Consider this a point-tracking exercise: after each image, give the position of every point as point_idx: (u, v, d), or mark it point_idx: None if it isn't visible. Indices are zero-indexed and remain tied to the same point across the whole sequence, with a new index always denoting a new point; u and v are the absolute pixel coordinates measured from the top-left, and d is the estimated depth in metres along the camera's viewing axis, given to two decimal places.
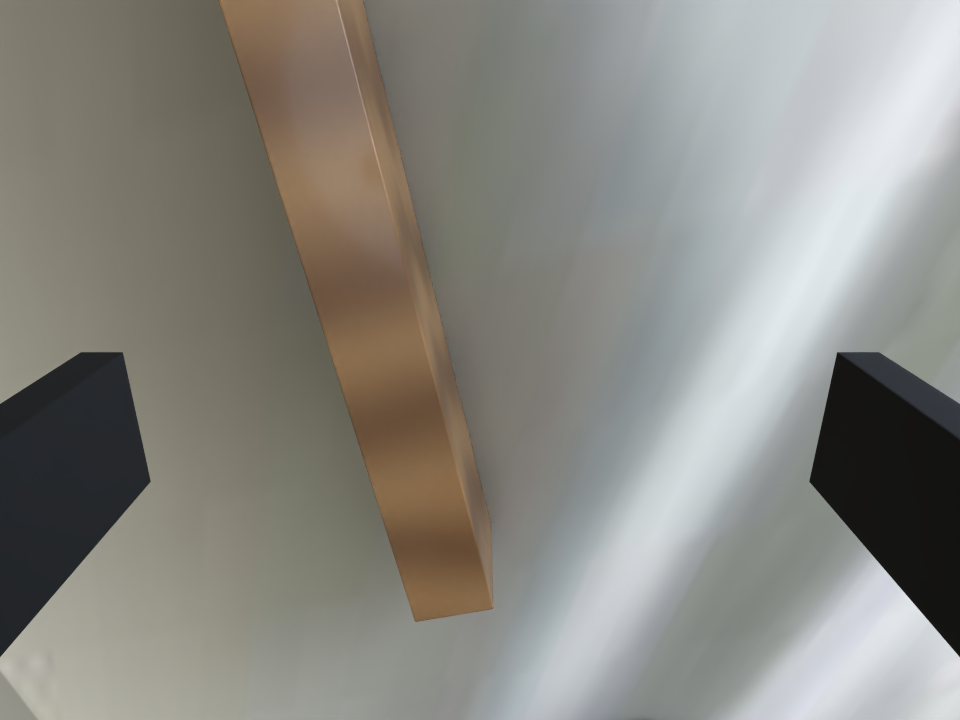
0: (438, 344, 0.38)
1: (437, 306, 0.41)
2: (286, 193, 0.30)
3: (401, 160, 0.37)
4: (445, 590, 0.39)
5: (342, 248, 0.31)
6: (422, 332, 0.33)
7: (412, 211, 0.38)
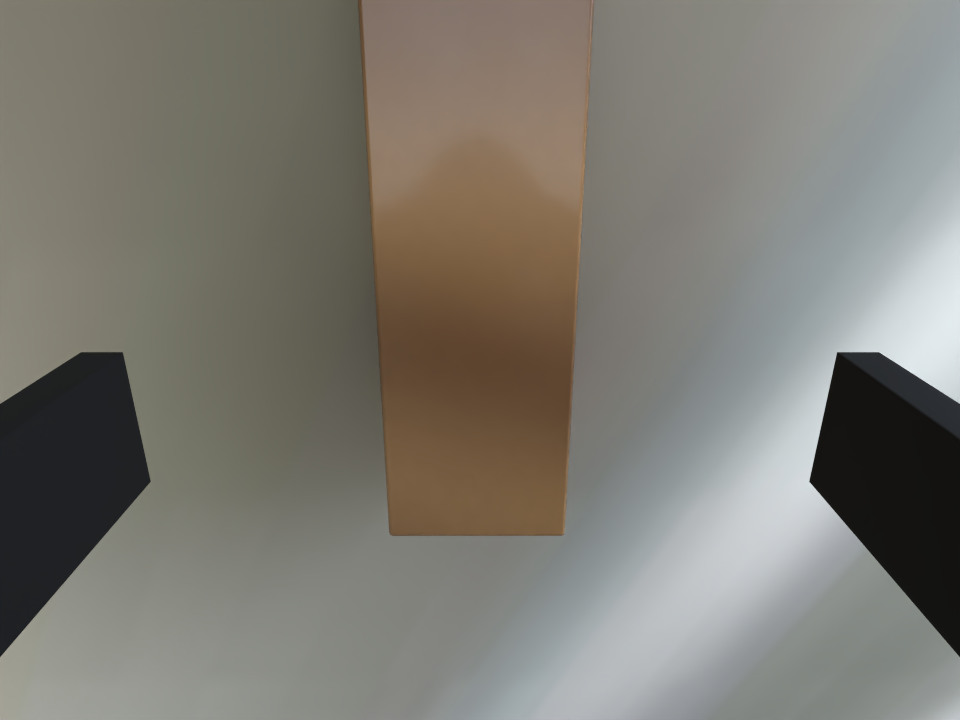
0: None
1: None
2: None
3: None
4: (473, 473, 0.17)
5: None
6: None
7: None
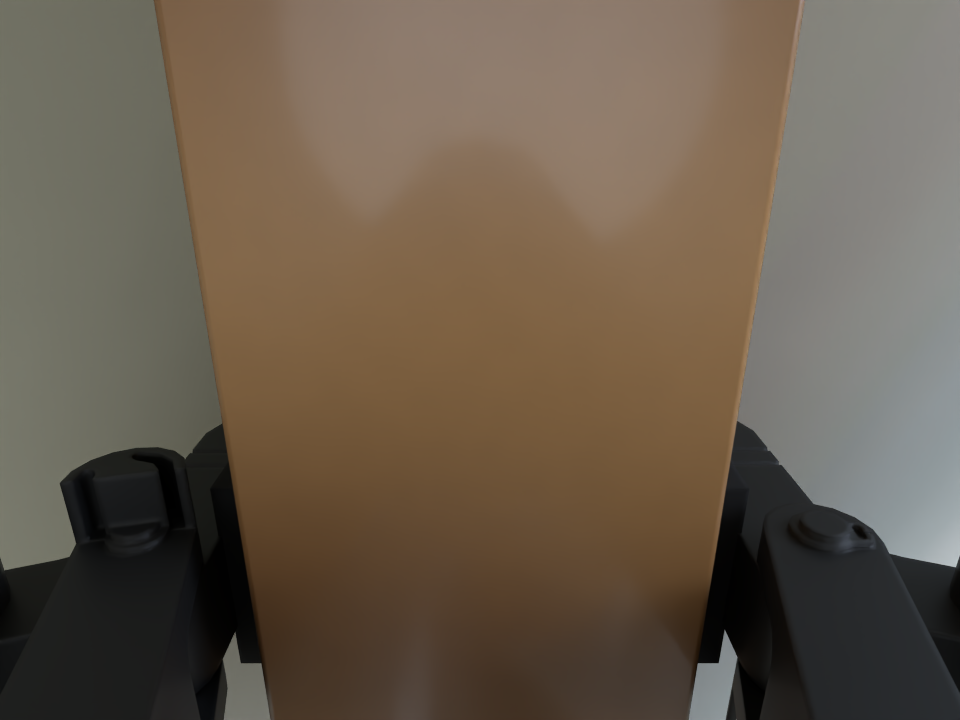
0: None
1: None
2: None
3: None
4: None
5: None
6: None
7: None
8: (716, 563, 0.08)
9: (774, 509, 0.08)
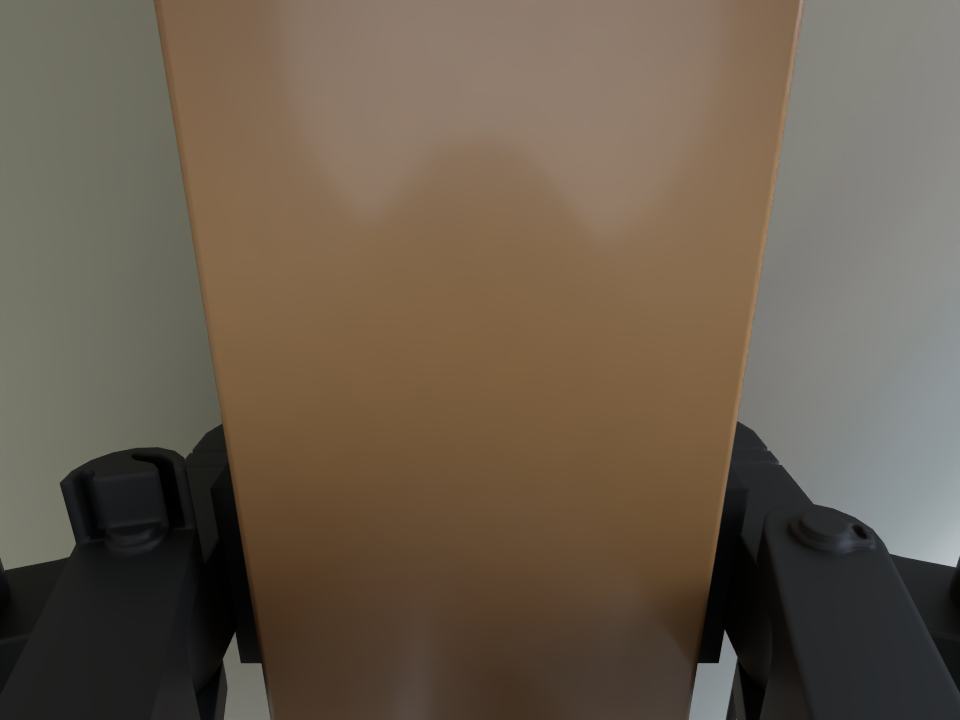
0: None
1: None
2: None
3: None
4: None
5: None
6: None
7: None
8: (716, 563, 0.08)
9: (774, 509, 0.08)
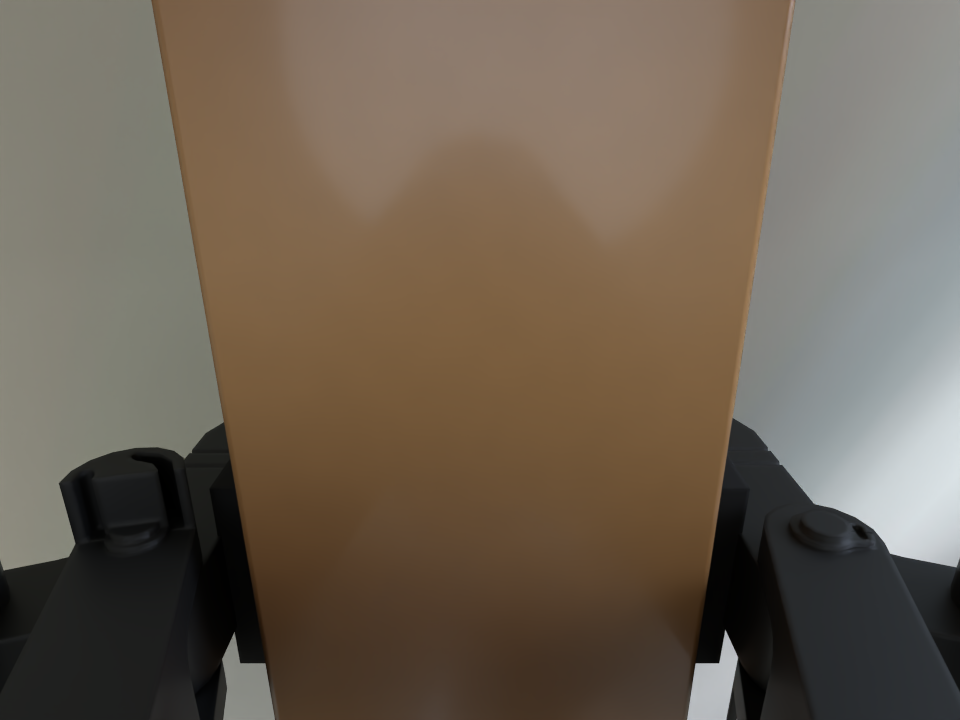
0: None
1: None
2: None
3: None
4: None
5: None
6: None
7: None
8: (717, 563, 0.08)
9: (775, 509, 0.08)
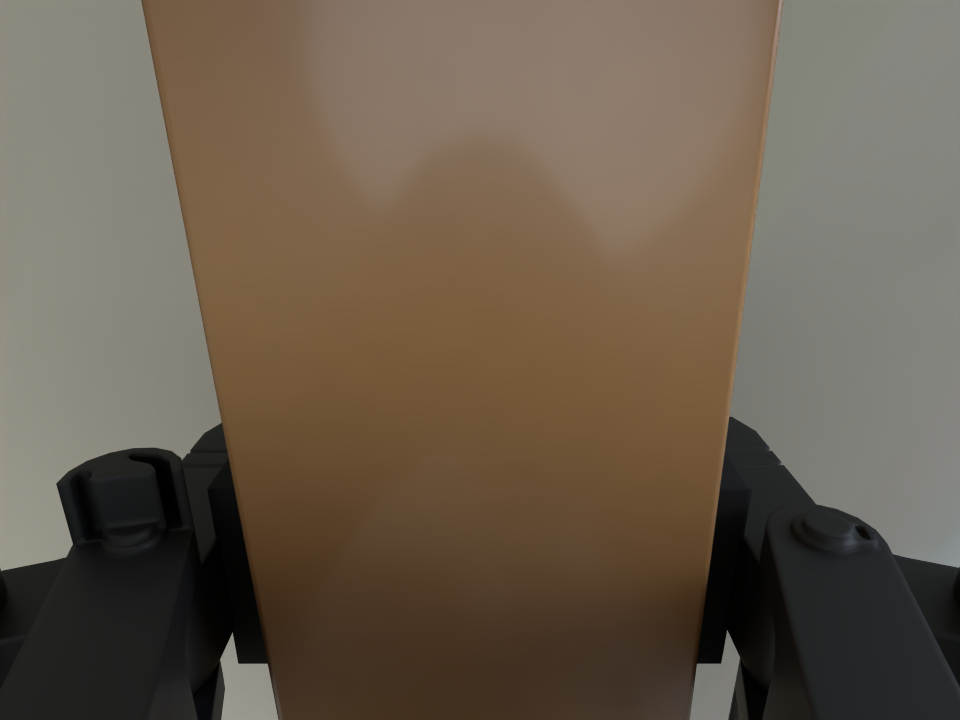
0: None
1: None
2: None
3: None
4: None
5: None
6: None
7: None
8: (718, 564, 0.08)
9: (777, 509, 0.08)
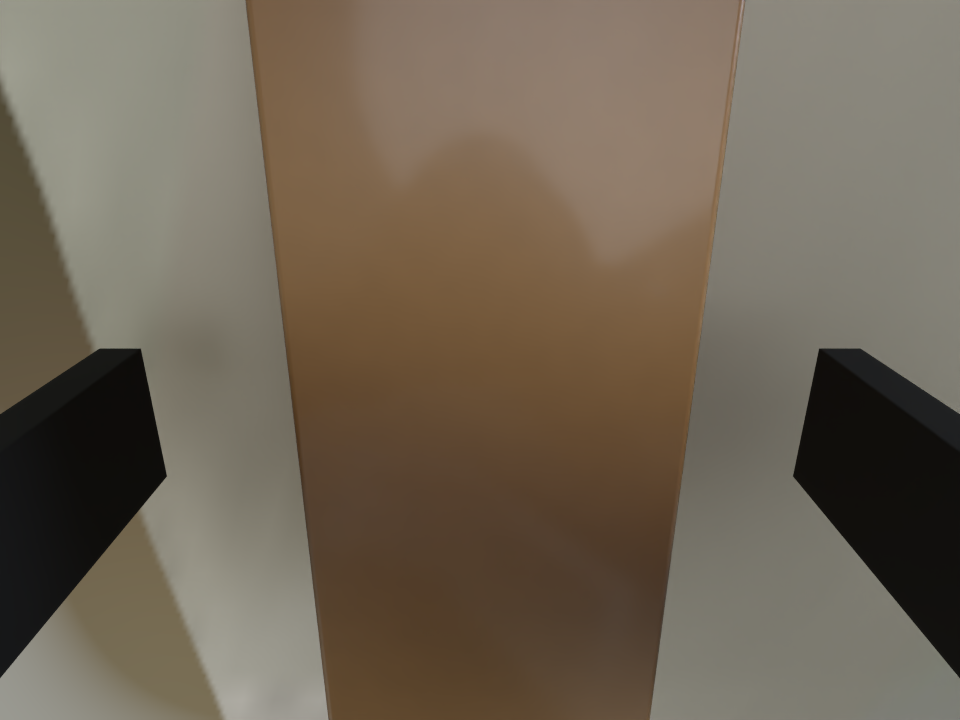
0: None
1: None
2: None
3: None
4: (483, 703, 0.10)
5: None
6: None
7: None
8: None
9: None
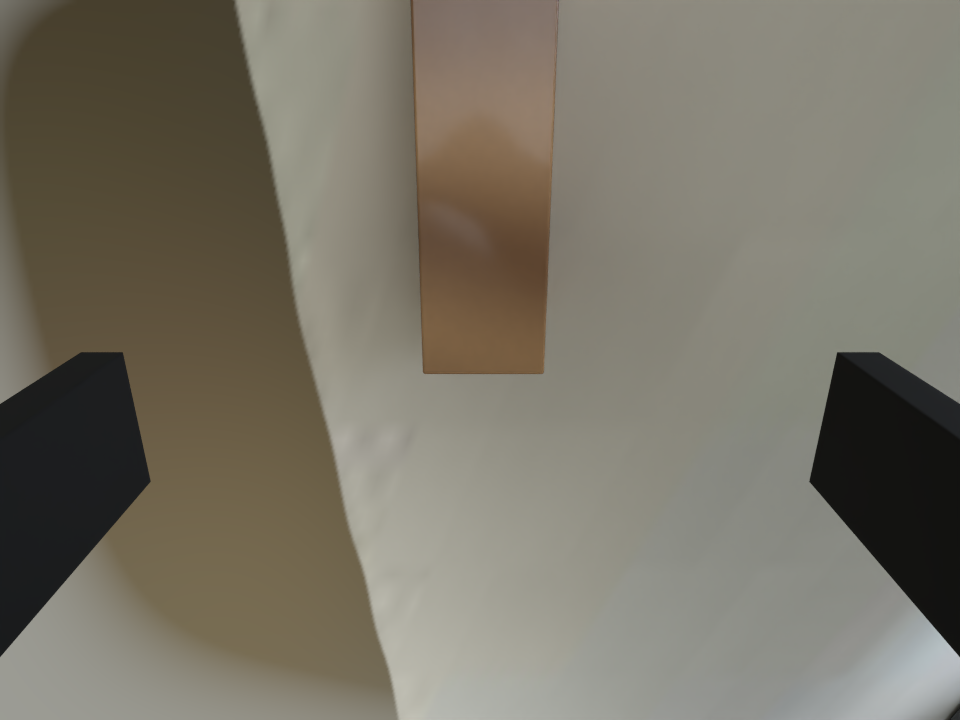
0: None
1: None
2: None
3: None
4: (481, 326, 0.26)
5: None
6: None
7: None
8: None
9: None
